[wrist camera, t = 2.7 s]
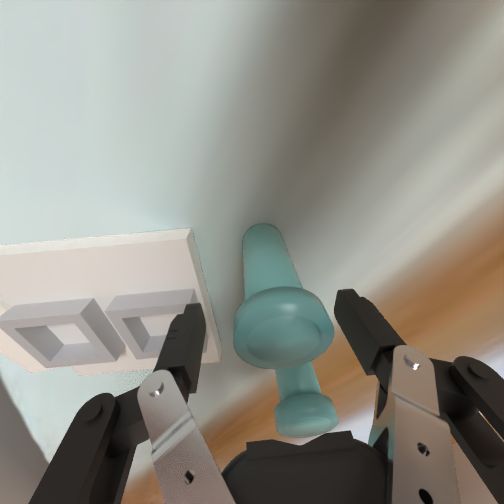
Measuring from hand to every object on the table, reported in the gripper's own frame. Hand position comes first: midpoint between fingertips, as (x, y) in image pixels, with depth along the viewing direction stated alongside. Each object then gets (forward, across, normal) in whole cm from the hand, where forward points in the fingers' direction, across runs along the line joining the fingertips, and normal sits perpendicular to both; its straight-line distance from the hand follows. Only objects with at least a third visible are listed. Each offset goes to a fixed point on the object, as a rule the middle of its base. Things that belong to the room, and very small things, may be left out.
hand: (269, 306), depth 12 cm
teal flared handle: (+8, 0, 0) cm, 8 cm away
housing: (+8, +14, +6) cm, 17 cm away
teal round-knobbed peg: (+8, -2, +11) cm, 13 cm away
